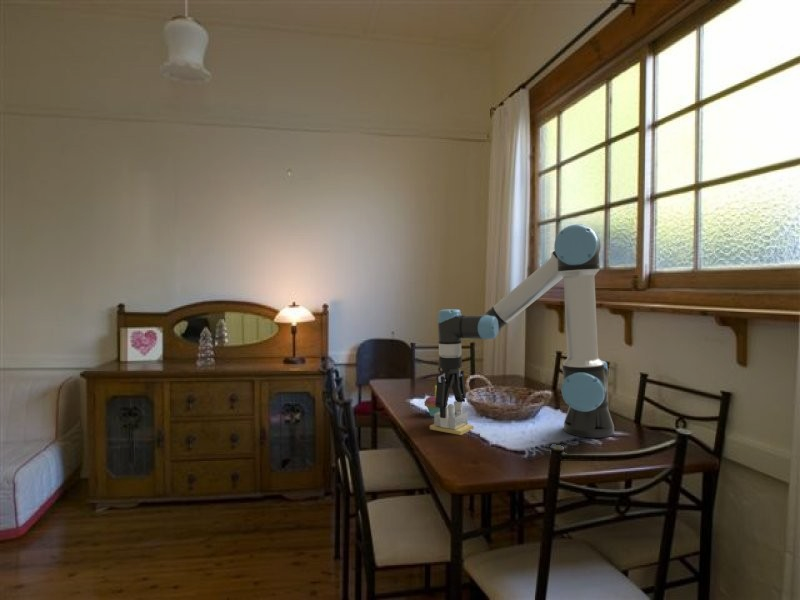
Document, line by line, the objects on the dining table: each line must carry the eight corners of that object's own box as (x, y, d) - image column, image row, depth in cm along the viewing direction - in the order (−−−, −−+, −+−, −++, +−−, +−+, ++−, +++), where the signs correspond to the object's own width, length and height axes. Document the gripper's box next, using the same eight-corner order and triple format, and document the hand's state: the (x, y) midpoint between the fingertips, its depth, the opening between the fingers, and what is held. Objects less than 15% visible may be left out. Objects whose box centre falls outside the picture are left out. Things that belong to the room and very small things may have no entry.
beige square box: (467, 423, 168) (467, 412, 168) (455, 429, 162) (454, 417, 162) (447, 420, 173) (447, 408, 173) (434, 425, 167) (434, 413, 167)
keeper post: (473, 429, 167) (472, 403, 167) (461, 435, 161) (460, 408, 160) (442, 423, 174) (442, 399, 174) (429, 429, 168) (429, 404, 168)
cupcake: (448, 418, 181) (447, 385, 181) (425, 418, 181) (424, 385, 181) (446, 412, 190) (446, 380, 189) (424, 412, 190) (423, 380, 190)
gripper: (456, 351, 177) (458, 415, 178) (422, 359, 161) (424, 429, 162) (475, 352, 173) (476, 418, 173) (442, 361, 156) (444, 433, 157)
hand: (451, 423), depth 167 cm, fingers closed on beige square box, 8 cm apart
